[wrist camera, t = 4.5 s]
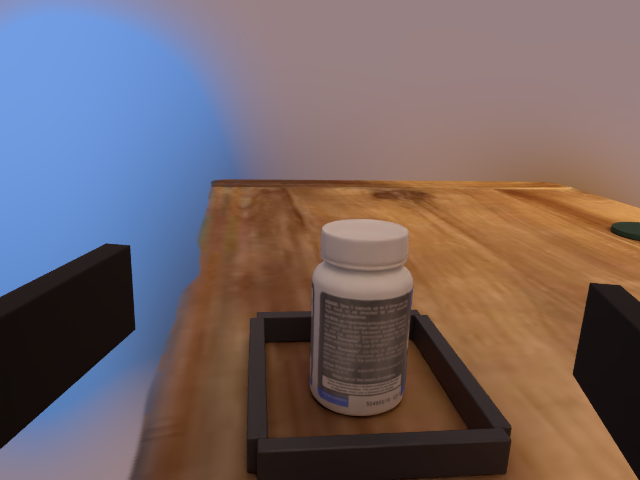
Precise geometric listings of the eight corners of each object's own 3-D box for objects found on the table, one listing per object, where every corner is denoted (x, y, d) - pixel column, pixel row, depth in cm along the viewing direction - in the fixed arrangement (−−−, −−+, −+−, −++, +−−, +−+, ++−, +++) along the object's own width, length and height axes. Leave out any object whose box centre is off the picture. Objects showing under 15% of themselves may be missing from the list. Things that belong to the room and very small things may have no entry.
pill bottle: (423, 402, 25) (440, 235, 23) (341, 430, 23) (351, 247, 21) (367, 359, 29) (377, 212, 27) (292, 379, 27) (295, 220, 25)
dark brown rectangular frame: (516, 473, 21) (522, 439, 20) (246, 489, 19) (246, 452, 19) (421, 332, 33) (423, 309, 32) (250, 336, 31) (250, 311, 31)
